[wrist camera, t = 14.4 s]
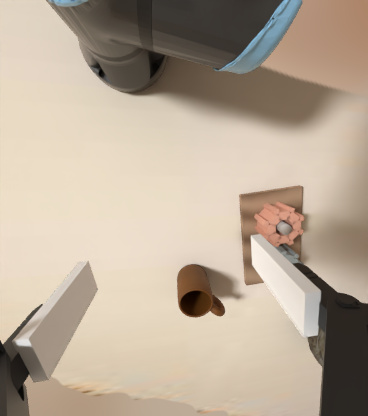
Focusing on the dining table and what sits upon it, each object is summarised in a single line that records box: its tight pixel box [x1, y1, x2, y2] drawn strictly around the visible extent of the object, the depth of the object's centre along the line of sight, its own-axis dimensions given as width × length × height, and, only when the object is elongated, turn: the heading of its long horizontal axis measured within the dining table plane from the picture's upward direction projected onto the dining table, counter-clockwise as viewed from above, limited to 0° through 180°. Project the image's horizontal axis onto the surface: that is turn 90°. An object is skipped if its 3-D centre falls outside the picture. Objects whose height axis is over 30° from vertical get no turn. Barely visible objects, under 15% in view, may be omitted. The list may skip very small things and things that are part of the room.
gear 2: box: [270, 243, 303, 264], centre depth 45 cm, size 9×9×5 cm
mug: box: [177, 265, 225, 317], centre depth 45 cm, size 12×8×9 cm, turn 57°
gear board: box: [239, 186, 302, 285], centre depth 44 cm, size 24×14×7 cm, turn 8°
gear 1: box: [254, 201, 305, 247], centre depth 43 cm, size 9×9×5 cm
